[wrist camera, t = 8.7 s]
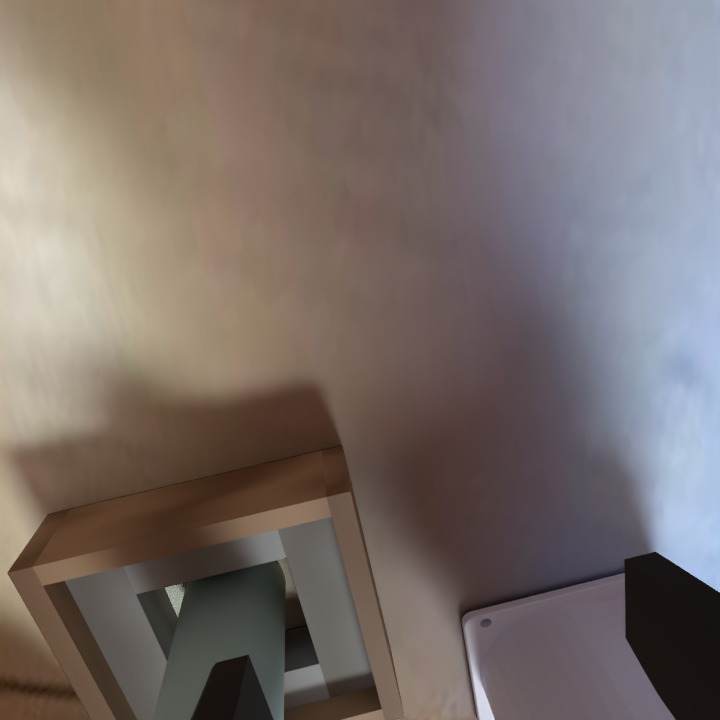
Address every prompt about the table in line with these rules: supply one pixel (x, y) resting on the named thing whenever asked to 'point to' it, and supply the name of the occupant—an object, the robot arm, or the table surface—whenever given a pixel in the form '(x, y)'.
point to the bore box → (204, 559)
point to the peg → (227, 637)
